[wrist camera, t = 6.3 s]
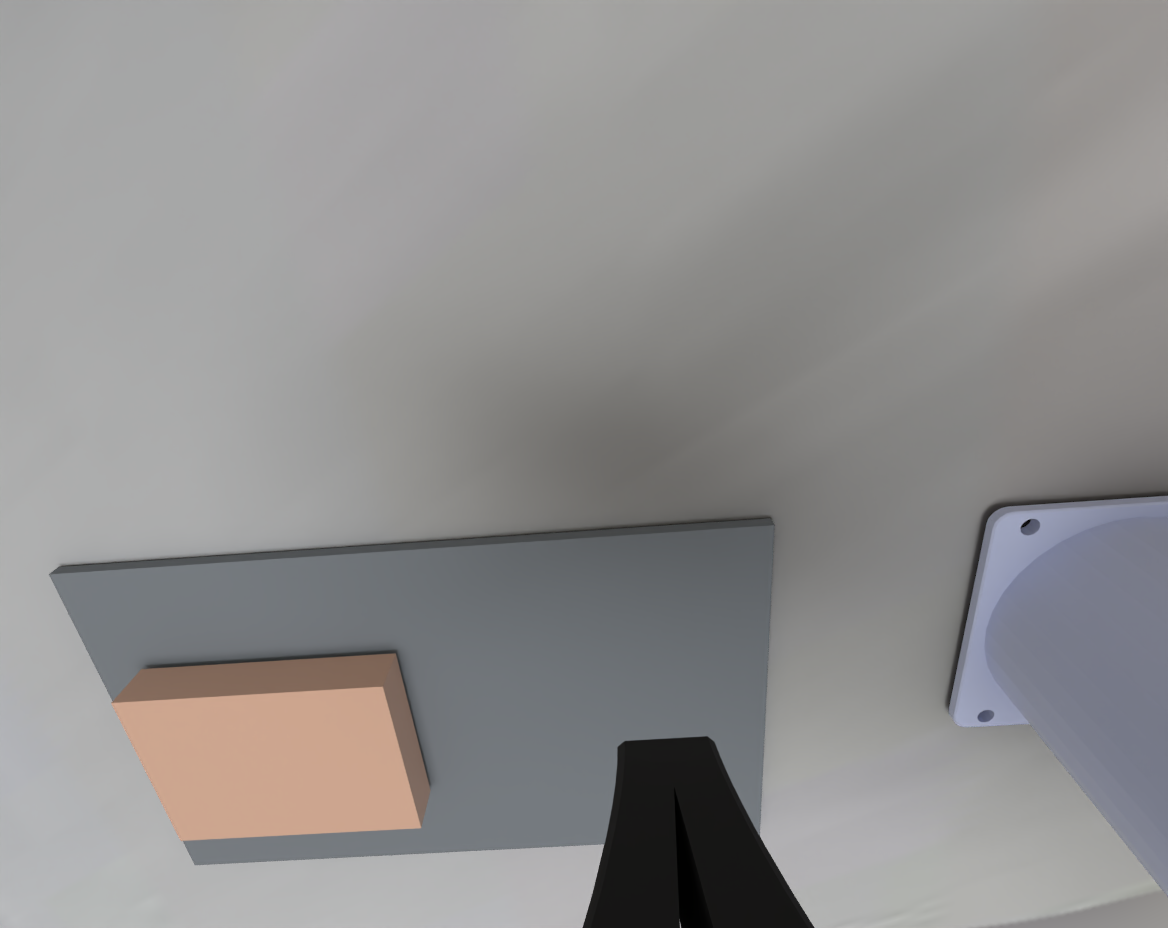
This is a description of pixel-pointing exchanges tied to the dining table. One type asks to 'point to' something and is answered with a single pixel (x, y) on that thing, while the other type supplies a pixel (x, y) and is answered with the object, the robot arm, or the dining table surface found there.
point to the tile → (278, 746)
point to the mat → (479, 662)
